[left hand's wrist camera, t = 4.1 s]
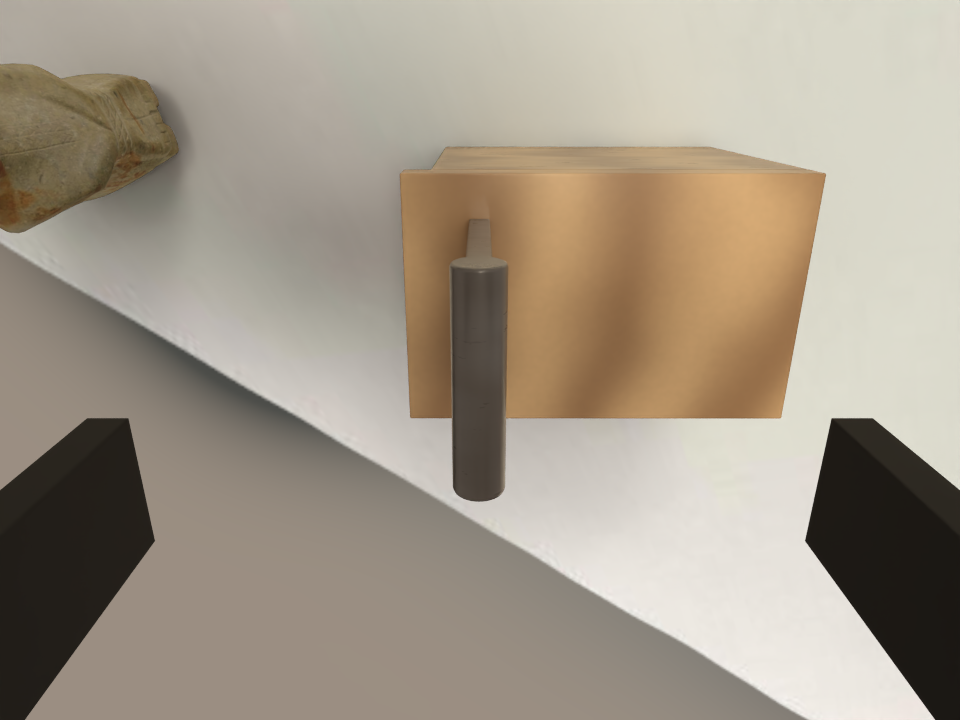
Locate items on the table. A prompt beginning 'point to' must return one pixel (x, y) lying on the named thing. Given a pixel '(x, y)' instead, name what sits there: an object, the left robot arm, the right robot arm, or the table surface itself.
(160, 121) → the sculpture
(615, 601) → the table surface
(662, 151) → the chest
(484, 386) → the lid
